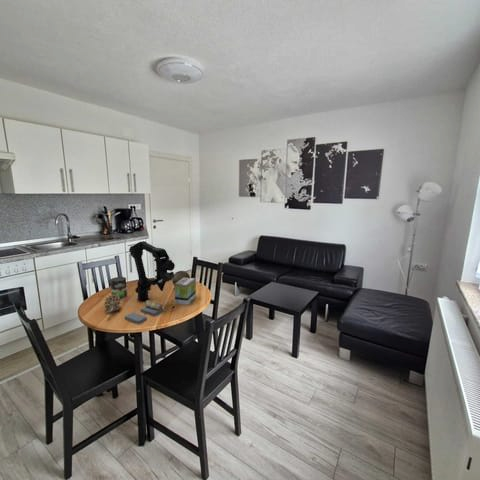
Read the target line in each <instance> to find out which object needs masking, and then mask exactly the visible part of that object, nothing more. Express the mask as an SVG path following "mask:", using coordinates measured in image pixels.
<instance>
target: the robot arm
mask: <svg viewBox="0 0 480 480" xmlns="http://www.w3.org/2000/svg"><path fill="white" fill-rule="evenodd" d="M144 250H145V251H146V252H148V253H149V254H151V255H152V257H153V258H154V259H153V262H155V266H156V267H155V268H156V269H155V270H154V272H156V275H155V277H151V278H148V277H147V274H146V270H145V266H144V262H143V261H144V260H143V255H144ZM128 251H129V254H130V256H131V257H132V258H133V260H134V264H135V269H136V272H137V276H138V280H137V283H136V284H137V286H136V287H135V289H134V290H135V293H137V299H136V301H138V302H142V303H145V302H146V301H147V300H151V297H149V291H151V287H152V286H156V285H157V287H158V289H159V290H160V291H161V292H163V291H164V288H165V285H166V283H167V282H170V281H172V278H174V274H175V272H174V271H173V270H174V269H175V268H176V265H175V262H174V261H173V259H171V258H170V256H169V255H168V252H167V250H166V249H165V248H162V247H155V246H154V245H152V244H150V243H148V242H147V241H138V242H137V243H136V244H134V245H131V246H130V248H128Z"/></svg>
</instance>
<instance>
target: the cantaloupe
mask: <svg viewBox="0 0 480 480" xmlns="http://www.w3.org/2000/svg"><path fill="white" fill-rule="evenodd" d="M182 278H191V276H190V274H189V273H188V272H187V271H184V270H179V271H176V272H174V278H172V280H171V282H172V284H173V286H174V287H175V283H177V282H178V281H179V280H181V279H182Z"/></svg>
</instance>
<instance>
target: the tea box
mask: <svg viewBox="0 0 480 480" xmlns="http://www.w3.org/2000/svg"><path fill="white" fill-rule="evenodd" d="M196 279H197V278H195V277H190V278H182V279H181V280H179V281H178V282H177V283H175V286H174V304H175V305H181V306H182V305H185V306H188V305H189V304H190V303H192V302H193V300H194V299H195V298H196V296H197V293H196V292H197V284H196V283H197V281H196Z"/></svg>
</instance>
